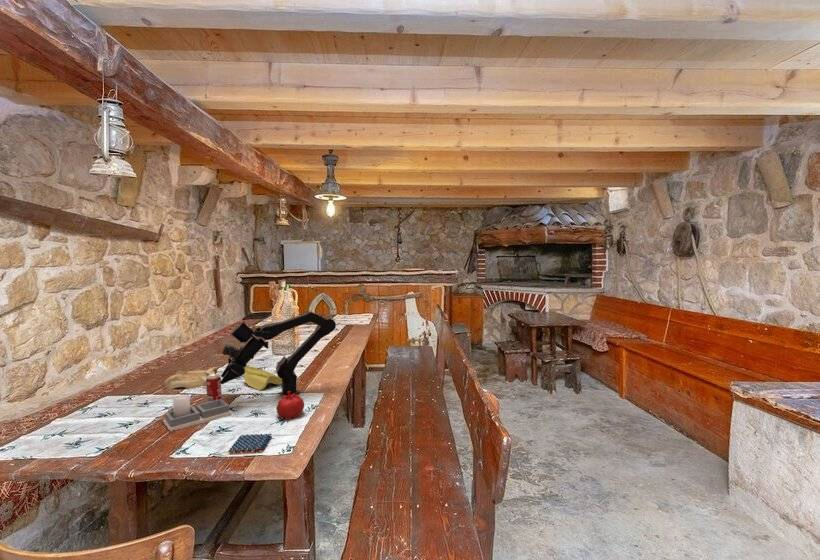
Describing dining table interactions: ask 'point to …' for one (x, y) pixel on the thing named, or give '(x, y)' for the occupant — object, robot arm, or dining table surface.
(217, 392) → the soda can
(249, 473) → the dining table surface
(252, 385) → the plastic component
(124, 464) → the dining table surface
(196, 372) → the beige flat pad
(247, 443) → the woven mat
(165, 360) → the dining table surface
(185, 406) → the compartment tray
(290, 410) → the pomegranate
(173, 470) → the dining table surface
